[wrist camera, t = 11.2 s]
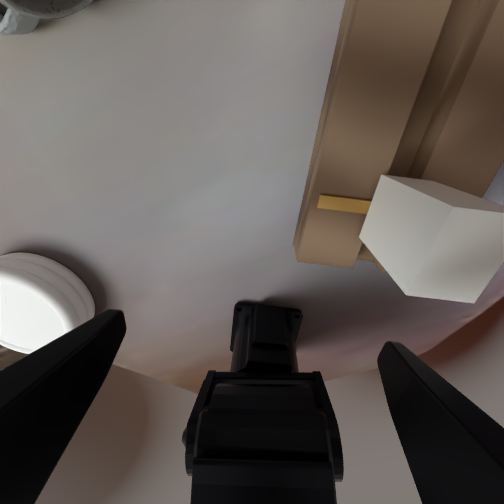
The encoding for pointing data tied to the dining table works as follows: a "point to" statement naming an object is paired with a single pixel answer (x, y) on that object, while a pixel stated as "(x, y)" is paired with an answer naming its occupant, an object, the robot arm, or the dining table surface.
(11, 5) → the ceramic mug
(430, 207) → the fader tab
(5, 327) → the white bowl
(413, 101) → the fader track
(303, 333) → the dining table surface
